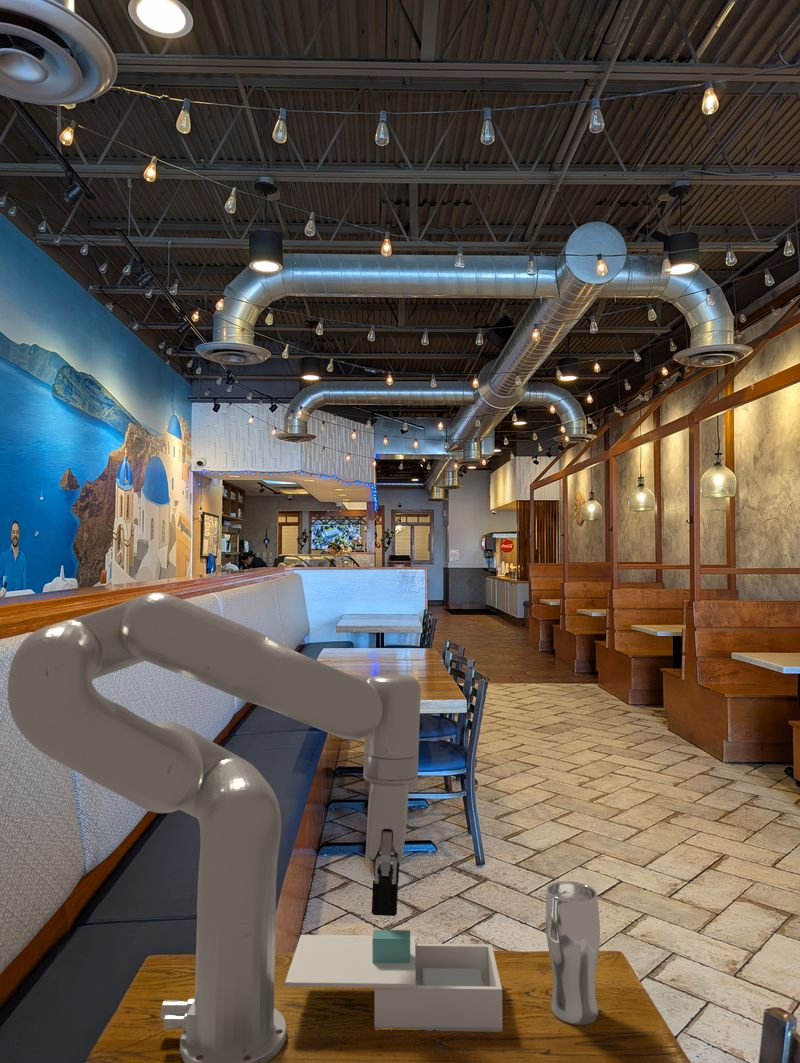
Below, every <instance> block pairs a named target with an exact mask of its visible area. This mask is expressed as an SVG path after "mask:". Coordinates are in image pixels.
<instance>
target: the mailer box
mask: <svg viewBox="0 0 800 1063" xmlns="http://www.w3.org/2000/svg"><path fill="white" fill-rule="evenodd" d="M415 968H416V988H374V1020H373V1021H374V1028H376V1029H377V1028H392V1029H417V1030H425V1031H424V1032H434V1031H433V1030H436V1031H435V1032H472V1033H473V1032H479V1033H483V1032H485V1033H486V1032H487V1033H489V1032H490V1033H491V1032H492V1033H494V1032H495V1033H503V1032H504V1030H503V988H502V982H501V979H500V975H499V970H498V966H497V962H496V956H495V953H494V949H493V944H492V943H491V944H490V943H489V944H485V943H484V944H481V943H480V944H479V943H415ZM421 968H446V969H480V974H481V980H482V985H483V986H421Z"/></svg>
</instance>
